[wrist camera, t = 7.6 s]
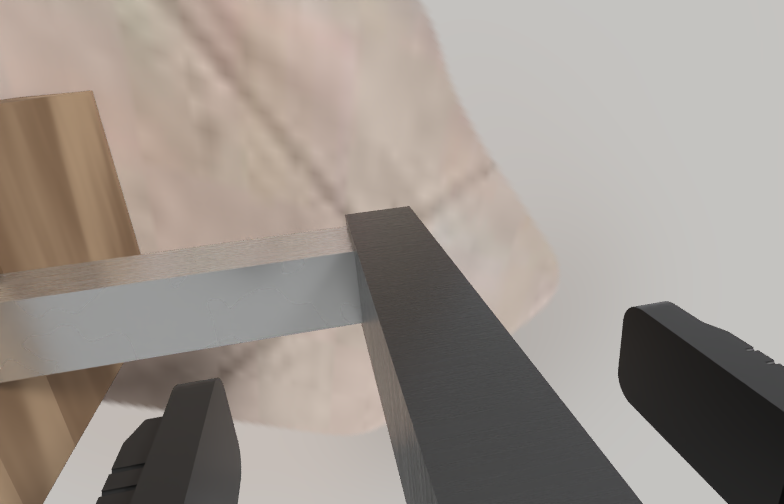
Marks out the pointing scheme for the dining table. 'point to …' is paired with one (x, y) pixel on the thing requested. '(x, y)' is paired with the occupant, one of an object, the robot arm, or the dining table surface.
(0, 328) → the l-shaped bracket
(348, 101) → the dining table surface
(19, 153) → the block
